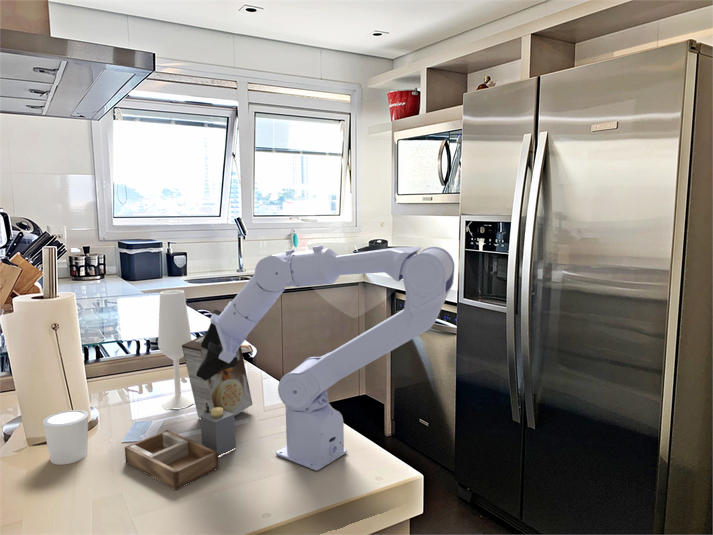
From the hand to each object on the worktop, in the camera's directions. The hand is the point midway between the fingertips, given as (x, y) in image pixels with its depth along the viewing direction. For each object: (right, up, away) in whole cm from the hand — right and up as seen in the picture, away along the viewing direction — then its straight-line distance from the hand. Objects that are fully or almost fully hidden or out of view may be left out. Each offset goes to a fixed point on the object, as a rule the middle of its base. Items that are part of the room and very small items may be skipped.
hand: (203, 361), depth 98 cm
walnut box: (-3, -16, -8) cm, 18 cm away
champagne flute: (-10, -12, +18) cm, 24 cm away
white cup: (-22, -15, -4) cm, 27 cm away
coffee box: (+1, -12, +12) cm, 17 cm away
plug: (+4, -15, -3) cm, 16 cm away
